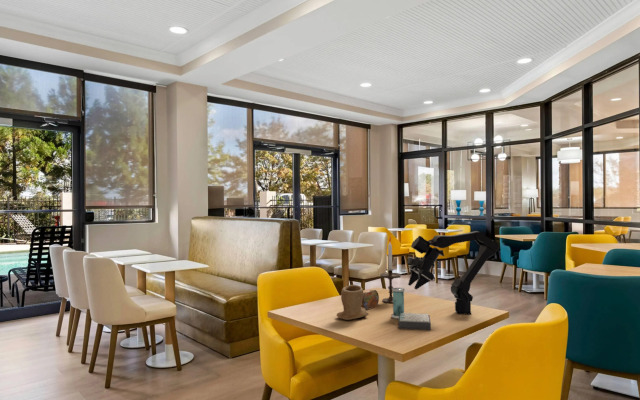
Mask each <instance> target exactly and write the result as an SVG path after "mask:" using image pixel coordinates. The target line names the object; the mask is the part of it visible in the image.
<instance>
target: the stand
mask: <svg viewBox="0 0 640 400" xmlns="http://www.w3.org/2000/svg"><path fill="white" fill-rule="evenodd" d="M431 323H432V322H431V317H430V314H429V313H418V312H417V313H415V312H413V313H412V312H404V313H400V314H399V319H398V329H399V330H401V329H402V330H419V331H431V330H432V327H431V326H432V325H431Z"/></svg>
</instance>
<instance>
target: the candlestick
mask: <svg viewBox="0 0 640 400" xmlns="http://www.w3.org/2000/svg"><path fill="white" fill-rule="evenodd" d="M391 239H392V237H391V236H390V237H389V239H388V241H389V243H388V246H387V251H388V252H387V253H388V254H387V255H388V269H386V271H388V272H385V273H380V274H379V275H380V278H382V279H387V280H389V282H388V283H389V284H388V285H389V286H387V288H388V293H389V297H386V298H383V299H381V300H382V303H383V304H384V303H385V304H392V305H393V291H392V288H394V286H393V280H394V279H398V278H399V279H400V278H401V277H402V275H401V274H400V273H397V272H396V273H395V272H393V271H394V269H393V247H392V246H393V244H391V242H392V241H391Z"/></svg>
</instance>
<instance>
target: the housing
mask: <svg viewBox="0 0 640 400" xmlns="http://www.w3.org/2000/svg"><path fill="white" fill-rule="evenodd" d="M392 292H393V293H392V297H393V304H392V313H391V314H390V315H391V318H392V319H395V320H399V314H400V313H405V288H403V287H393V288H392Z"/></svg>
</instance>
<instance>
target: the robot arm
mask: <svg viewBox="0 0 640 400" xmlns="http://www.w3.org/2000/svg"><path fill="white" fill-rule="evenodd" d="M471 241H475V242H476V243H477V244H478V245H479V249H478V253H477V255H476V256H475V257H474V259H473V261H472V262H471V264H470V265H469V267H468V268H467V269H466V271H465V272H464V273H463V275H462V276H461V277H460V278H458V277H456V278H454V280H453V282H452V283H451V284H450V285H451V286H450V292H451V294H452V295H453V296H454V298H455V302H454V310H455V311H454V312H456V314H458V315H459V314H460V315H472V310H471V309H472V308H471V307H472V305H471V304H472V303H471V302H472V301H473V299H474V297H473V295H472V294H471V293H469V292H470V289H471V284H472V282H473V280H474V279H475V278H476V276H477V275H478V274H479V272H480V270H481V269H482V267H483V266H484V265H485V263H486V262H487V260H488V259H489V258H491V257H492V256H494V255H495V254H496V253H497V252H498V251H499V250H500V244H499V242H498V241H497V240H494V239H492V238H490V237H488V236H486V235H485V234H483V233H482V232H480V231H478V230H475V231H474V230H473V231H470V232H464V233H459V234H452V235H444V234H443V235H442V234H440V235H439V234H438V235H434V236H433V238H431V239H429V240H427V239H425V238H424V237H423V236H421V235H418V236H417V237H416V238H415V239H414V240H413V241H412V243H411V249H413V250H415V251H416V252H418V253H419V254H421V255H422V254H423V256H421V257H418V256H414V257H411V256H408V257H407V265H408V264H409V265H410V266H409V272H410V276H409V280H408V284H407V285H408V286H410V287H411V286H412V285H413V284H414V287H413V288H414V289H415V290H418V289H419V288H421V287H423V286H424V285H426V284H427V283H430V282H431V281H433V280H434V278H435V274H433V272H431V269H432V267H435V263H436V261H437V259H438V258H439V256H442V257H444V256H445V253H444V250H443V249H445V248H448V247H451V246H452V245H454V244H459V243H465V242H471ZM439 248H440V249H439ZM415 282H416V283H415Z"/></svg>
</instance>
